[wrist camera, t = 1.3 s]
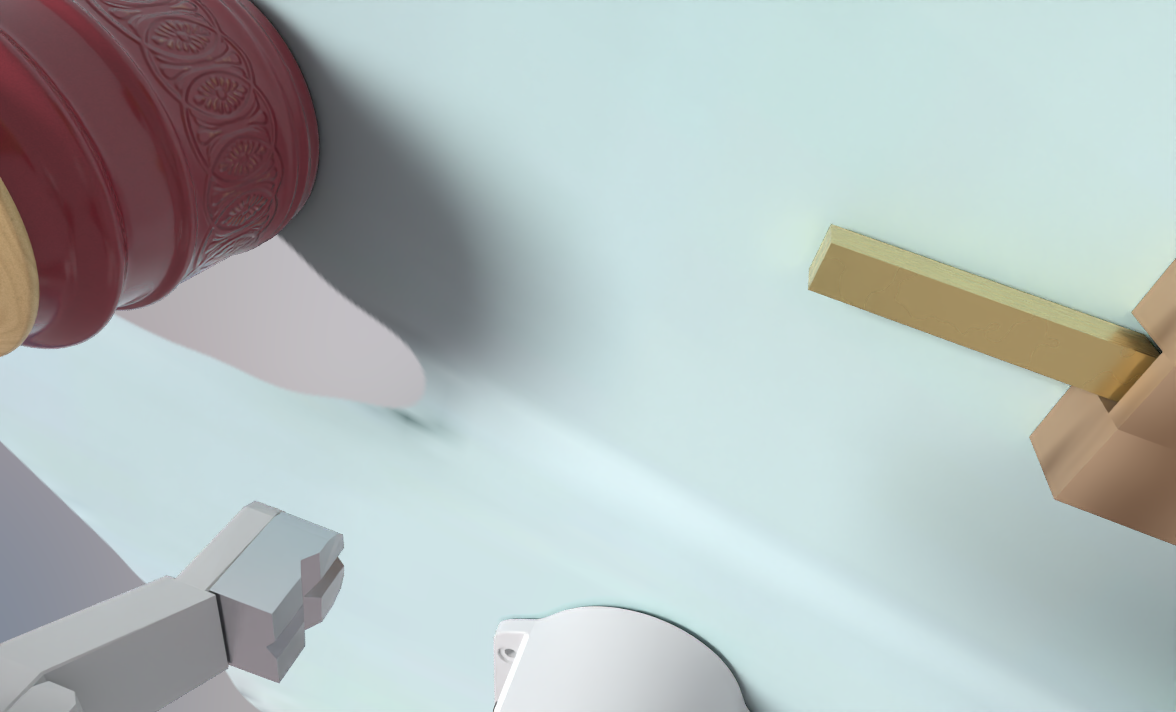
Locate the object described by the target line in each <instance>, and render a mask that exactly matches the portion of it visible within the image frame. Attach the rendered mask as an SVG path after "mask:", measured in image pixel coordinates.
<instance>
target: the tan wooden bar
mask: <svg viewBox="0 0 1176 712" xmlns="http://www.w3.org/2000/svg"><path fill="white" fill-rule="evenodd" d="M808 290H811V291H814V292H816V293H819V294H822V295H825V296H827V297H830V298H833V299H836V300H838V301H841V302H844V303H847V304H849V305H852V306H855V307H858V308H860V309H863V310H866V311H869V312H871V313H874V314H877V315H880V316H882V317H885V318H888V319H891V320H893V321H896V322H899V323H902V324H904V325H907V326H910V327H913V328H915V329H918V330H921V331H924V332H926V333H929V334H932V335H934V336H937V337H940V338H943V339H945V340H948V341H951V342H954V343H956V344H959V345H962V346H965V347H967V348H970V349H973V350H976V351H978V352H981V353H984V354H987V355H989V356H992V357H995V358H998V359H1000V360H1003V361H1006V362H1009V363H1011V364H1014V365H1017V366H1020V367H1022V368H1025V369H1028V370H1031V371H1033V372H1036V373H1039V374H1042V375H1044V376H1047V377H1050V378H1053V379H1055V380H1058V381H1061V382H1064V383H1066V384H1069V385H1072V386H1075V387H1077V388H1080V389H1083V390H1086V391H1088V392H1091V393H1094V394H1097V395H1099V396H1102V397H1105V398H1108V399H1110V400H1113V401H1116V402H1119V401H1120V400H1121V399H1122V397H1123V396H1124V395H1125V394H1126V393H1127V392H1128V391H1129V389H1130V388H1131V387H1132V386H1133V385H1134V384H1135V383H1136V382H1137V380H1138V379H1139V378H1140V377H1141V376H1142V375H1143V374H1144V372H1145V371H1146V370H1147V369H1148V368H1149V367H1150V366H1151V365H1152V363H1153V362H1154V361H1155V360H1156V359H1157V358H1158V357H1159V356H1160V354H1159V353H1158V351H1157V350H1156V349H1155V348H1154V346H1153V345H1152V344H1151V342H1150V341H1149V340H1148V339H1147V337H1146V336H1145V335H1144V334H1141V333H1138V332H1135V331H1132V330H1130V329H1127V328H1124V327H1121V326H1118V325H1115V324H1113V323H1110V322H1107V321H1104V320H1101V319H1098V318H1096V317H1093V316H1090V315H1087V314H1084V313H1082V312H1079V311H1076V310H1073V309H1070V308H1067V307H1065V306H1062V305H1059V304H1056V303H1053V302H1050V301H1048V300H1045V299H1042V298H1039V297H1036V296H1033V295H1031V294H1028V293H1025V292H1022V291H1019V290H1016V289H1014V288H1011V287H1008V286H1005V285H1002V284H999V283H997V282H994V281H991V280H988V279H985V278H982V277H980V276H977V275H974V274H971V273H968V272H965V271H963V270H960V269H957V268H954V267H951V266H948V265H946V264H943V263H940V262H937V261H934V260H931V259H929V258H926V257H923V256H920V255H917V254H915V253H912V252H909V251H906V250H903V249H900V248H898V247H895V246H892V245H889V244H886V243H883V242H881V241H878V240H875V239H872V238H869V237H866V236H864V235H861V234H858V233H855V232H852V231H849V230H847V229H844V228H841V227H838V226H835V225H832V224H831V225H830V227H829V229H828V231H827V233H826V235H825V237H824V239H823V241H822V244H821V246H820V248H819V250H818V252H817V254H816V256H815V258H814V260H813V262H812V264H811V266H810V268H809V281H808Z"/></svg>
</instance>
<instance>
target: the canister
mask: <svg viewBox="0 0 1176 712" xmlns="http://www.w3.org/2000/svg"><path fill="white" fill-rule="evenodd" d="M318 163H319V133H318V126H317V119H316V115H315V110H314V106H313V103H312V99H311V96H310V93H309V90H308V87H307V84H306V82H305V80H304V77H303V75H302V73H301V70H300V68H299V66H298V64H297V62H296V60H295V58H294V57H293V55H292V53H291V51H290V50H289V48H288V46H287V45H286V43H285V42H284V40H283V39H282V37H281V36H280V34H279V33H278V31H277V30H276V29H275V28H274V26H273V25H272V24H271V22H270V21H269V20H268V19H267V18H266V17H265V15H264V14H263V13H262V12H261V11H260V10H259V9H258V8H257V7H256V6H255V5H254V4H253V3H252V2H251V1H250V0H0V357H1V356H4V355H6V354H8V353H10V352H12V351H13V350H15V349H16V348H17V347H19V346H25V347H31V348H39V349H59V348H66V347H71V346H75V345H78V344H80V343H83V342H85V341H87V340H89V339H90V338H92V337H93V336H95V335H96V334H97V333H99V332H100V331H101V330H102V329H103V328H104V327H105V326H106V325H107V324H108V322H109V321H110V319H111V318H112V316H113V314H114V313H115V311H123V310H134V309H139V308H143V307H147V306H149V305H152V304H154V303H156V302H158V301H160V300H162V299H163V298H164V297H166V296H167V295H169V294H170V293H171V292H172V291H173V290H174V289H175V288H176V287H177V286H178V285H179V284H180V283H182V282H184V281H186V280H188V279H190V278H192V277H193V276H195V275H197V274H199V273H200V272H202V271H204V270H206V269H208V268H210V267H212V266H213V265H215V264H217V263H219V262H221V261H223V260H225V259H227V258H228V257H230V256H232V255H236V254H240V253H243V252H246V251H249V250H251V249H254V248H255V247H257V246H259V245H261V244H262V243H264V242H266V241H268V240H269V239H271V238H273V237H274V236H275V235H277V234H278V233H279V232H280V231H281V230H282V229H284V228H285V226H286V225H287V224H288V223H289V222H290V220H292V219H293V218H294V217H295V216H296V215H297V214H298V213H299V211H300V210H301V209H302V208H303V206H304V205H305V203H306V201H307V200H308V198H309V196H310V194H311V191H312V189H313V186H314V183H315V179H316V175H317V170H318Z"/></svg>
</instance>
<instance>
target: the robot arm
mask: <svg viewBox="0 0 1176 712" xmlns="http://www.w3.org/2000/svg"><path fill="white" fill-rule="evenodd" d="M343 548H344V542H343V534H340V533H338V532H335V531H333V530H330V529H327V528H325V527H322V526H320V525H317V524H314V523H312V522H309V521H307V520H304V519H301V518H299V517H296V516H294V515H291V514H288V513H286V512H285V511H282V510H279V509H276V508H274V507H271V506H268V505H266V504H263V503H260V502H257V501H254V502H252V503H250V504H248V505H247V506H245V507H243V508H242V509H241V510H240V511H239V512H238V513H237V515H236V516H235V517H234V518H233V519H232V520H231V521H230V522H229V523H228V524H227V525H226V526H225V527H224V528H223V529H222V530H221V531H220V532H219V533H218V534H217V535H216V536H215V537H214V539H213V540H212V541H211V542H210V543H209V544H208V545H207V546H206V547H205V548H204V549H203V550H202V551H201V552H200V553H199V554H198V555H197V556H196V557H195V558H194V559H193V560H192V561H191V563H190V564H189V565H188V566H187V567H186V568H185V569H184V570H183V571H182V572H181V573H180V574H179V575H178V576H177V577H176V578H173V577H170V576H167V575H166V576H164V577H162V578H159V579H157V580H154V581H152V582H149V583H147V584H144V585H142V586H140V587H137V588H135V589H132V590H130V591H127V592H125V593H122V594H120V595H118V596H115V597H113V598H110V599H108V600H106V601H103V602H100V603H98V604H96V605H93V606H91V607H88V608H86V609H83V610H81V611H78V612H76V613H74V614H71V615H69V616H66V617H64V618H61V619H59V620H56V621H54V622H52V623H49V624H47V625H44V626H42V627H40V628H37V629H34V630H32V631H30V632H27V633H25V634H22V635H20V636H17V637H15V638H12V639H10V640H8V641H5V642H3V643H0V712H157V711H159V710H160V709H162V708H164V707H165V706H167V705H168V704H170V703H172V702H173V701H175V700H177V699H178V698H180V697H182V696H183V695H185V694H187V693H188V692H190V691H192V690H193V689H195V688H197V687H198V686H200V685H202V684H203V683H205V682H206V681H208V680H210V679H211V678H213V677H215V676H216V675H218V674H220V673H221V672H223V671H225V670H226V669H228V667H229V666H228V664H229V665H231V666H234V667H237V668H239V669H242V670H245V671H247V672H250V673H253V674H256V675H258V676H261V677H264V678H266V679H269V680H272V681H274V682H277V683H280V681H281V680H282V678H283V677H284V676H285V674H286V673H287V671H288V670H289V668H290V667H291V666H292V664H293V663H294V661H295V660H296V658H297V657H298V656H299V654H300V653H301V651H302V650H303V648H304V647H305V630H306V629H308V628H310V627H312V626H314V625H316V624H318V623H320V622H322V621H323V619H324V618H325V616H326V615H327V613H328V612H329V610H330V609H331V607H332V606H333V604H334V602H335V599H336V597H337V595H338V593H339V591H340V589H341V585H342V581H343V577H344V565H343V564H342V562H341V561H340V559H339V558H338V555H339V554H340V553H341V551H342V550H343ZM494 692H495V706H494V709H493V712H750V711H749V710H748V708H747V707H746V704H745V702H744V699H743V696H742V693H741V690H740V687H739V685H738V683H737V681H736V679H735V677H734V676H733V674H732V673H731V671H730V670H729V668H728V667H727V666H726V664H725V663H724V662H723V661H722V660H721V659H720V658H719V657H718V656H717V655H716V654H715V653H714V652H713V651H712V650H711V649H709V648H708V647H707V646H706V645H705V644H703V643H702V642H701V641H699V640H698V639H696V638H695V637H693V636H692V635H690V634H688V633H687V632H685V631H683V630H681V629H680V628H678V627H676V626H674V625H672V624H669V623H667V622H665V621H663V620H660V619H658V618H655V617H652V616H649V615H646V614H643V613H639V612H635V611H631V610H626V609H621V608H614V607H601V606H589V607H578V608H572V609H568V610H564V611H561V612H558V613H555V614H553V615H550V616H548V617H545V618H541V619H508V620H504V621H501V622H500V623H499V624H498V627H497V630H496V633H495V636H494Z"/></svg>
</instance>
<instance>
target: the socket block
mask: <svg viewBox="0 0 1176 712" xmlns="http://www.w3.org/2000/svg"><path fill="white" fill-rule="evenodd" d="M1131 313H1132V314H1133V315H1134V316H1135V318H1136V319H1137V320H1138V321H1139V323H1140V324H1141V325H1142V326H1143V328H1144V329H1145V330H1146V331H1147V333H1148V334H1149V335H1150V336H1151V338H1152V339H1153V340H1154V341H1155V343H1156V344H1157V345H1158V346H1159V348H1160V349H1161V350H1162V351H1163V352H1162V353H1161V354H1160V356H1159V357H1158V358H1157V359H1156V360H1155V361H1154V362H1153V363H1152V365H1151V366H1150V367H1149V368H1148V369H1147V370H1146V371H1145V372H1144V374H1143V375H1142V376H1141V377H1140V378H1139V379H1138V380H1137V382H1136V383H1135V384H1134V385H1133V386H1132V387H1131V388H1130V389H1129V391H1128V392H1127V393H1126V394H1125V395H1124V396H1123V397H1122V399H1121V400H1120V401H1119V402H1116V401H1113V400H1110V399H1108V398H1105V397H1102V396H1099V395H1097V394H1094V393H1091V392H1088V391H1086V390H1083V389H1080V388H1077V387H1075V386H1072V385H1071V387H1070V388H1069V389H1068V390H1067V392H1066V393H1065V394H1064V395H1063V396H1062V398H1061V399H1060V400H1059V401H1058V403H1057V404H1056V405H1055V406H1054V407H1053V409H1052V410H1051V411H1050V412H1049V414H1048V415H1047V416H1046V417H1045V418H1044V420H1043V421H1042V422H1041V423H1040V424H1039V426H1038V427H1037V428H1036V429H1035V431H1034V432H1033V433H1032V434H1031V435H1030V440H1031V442H1032V445H1033V447H1034V450H1035V452H1036V455H1037V457H1038V460H1039V462H1040V465H1041V467H1042V470H1043V472H1044V475H1045V477H1046V480H1047V482H1048V485H1049V487H1050V490H1051V492H1052V495H1053V497H1054V499H1055V500H1058V501H1060V502H1063V503H1066V504H1068V505H1071V506H1074V507H1076V508H1079V509H1081V510H1084V511H1087V512H1089V513H1092V514H1095V515H1097V516H1100V517H1102V518H1105V519H1108V520H1110V521H1113V522H1116V523H1118V524H1121V525H1123V526H1126V527H1129V528H1131V529H1134V530H1137V531H1139V532H1142V533H1144V534H1147V535H1150V536H1152V537H1155V538H1158V539H1160V540H1163V541H1165V542H1168V543H1171V544H1173V545H1176V259H1175V260H1174V261H1173V262H1172V264H1171V265H1170V266H1169V267H1168V268H1167V270H1166V271H1165V272H1164V273H1163V275H1162V276H1161V277H1160V278H1159V279H1158V281H1157V282H1156V283H1155V284H1154V286H1153V287H1152V288H1151V289H1150V290H1149V292H1148V293H1147V294H1146V295H1145V296H1144V298H1143V299H1142V300H1141V301H1140V303H1139V304H1138V305H1137V306H1136V307H1135V309H1134V310H1133V311H1132V312H1131Z"/></svg>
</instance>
